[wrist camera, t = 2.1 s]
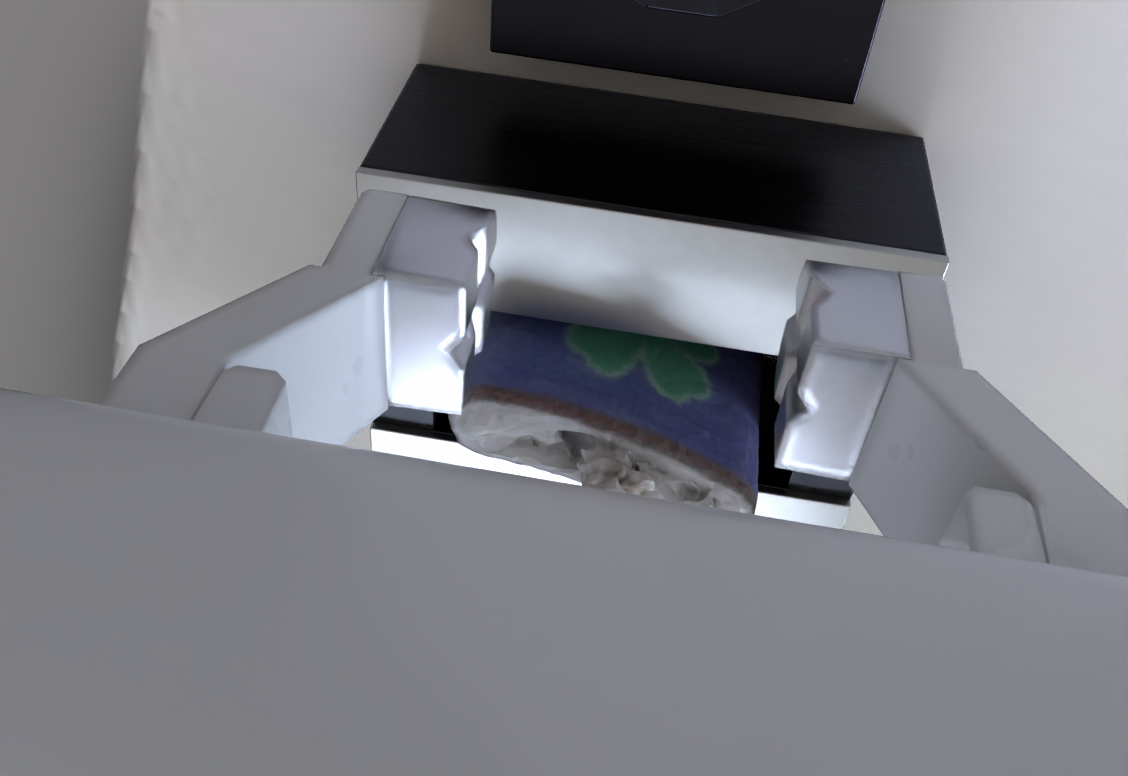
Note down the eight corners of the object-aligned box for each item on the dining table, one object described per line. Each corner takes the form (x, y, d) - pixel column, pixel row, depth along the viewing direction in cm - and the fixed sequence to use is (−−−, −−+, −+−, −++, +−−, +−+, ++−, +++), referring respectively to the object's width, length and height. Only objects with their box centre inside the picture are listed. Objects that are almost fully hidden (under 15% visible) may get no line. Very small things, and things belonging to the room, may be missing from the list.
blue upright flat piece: (495, 257, 36) (419, 491, 28) (523, 189, 34) (449, 419, 26) (744, 354, 37) (736, 603, 30) (784, 293, 36) (788, 543, 28)
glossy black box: (389, 57, 32) (324, 167, 27) (924, 136, 31) (949, 262, 26) (400, 406, 42) (352, 530, 37) (806, 473, 41) (810, 608, 36)
